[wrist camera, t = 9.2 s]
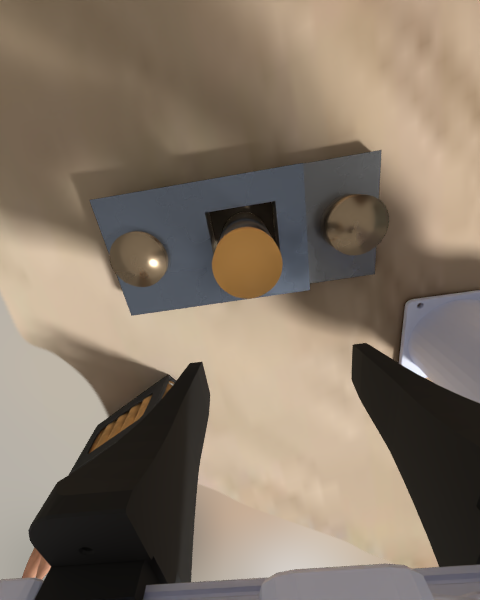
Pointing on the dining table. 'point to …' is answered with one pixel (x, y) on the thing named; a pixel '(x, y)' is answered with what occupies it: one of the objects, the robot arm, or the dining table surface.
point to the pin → (246, 257)
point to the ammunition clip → (101, 441)
